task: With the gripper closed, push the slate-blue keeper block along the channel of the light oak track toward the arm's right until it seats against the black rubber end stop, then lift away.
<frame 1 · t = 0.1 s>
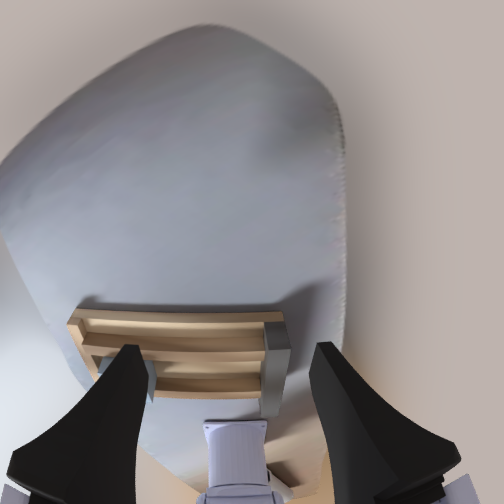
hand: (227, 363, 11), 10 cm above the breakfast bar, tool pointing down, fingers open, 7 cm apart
keeper: (127, 382, 21), point 4 cm above the breakfast bar, slide at 4.2 cm
tube: (272, 478, 47), on the breakfast bar
track: (178, 353, 24), on the breakfast bar
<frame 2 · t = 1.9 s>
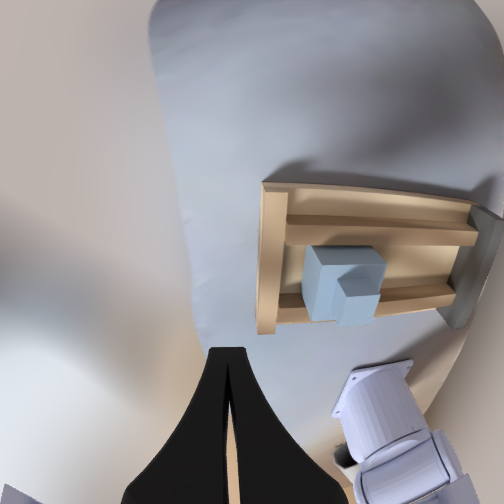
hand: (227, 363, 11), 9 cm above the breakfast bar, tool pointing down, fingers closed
keeper: (344, 285, 16), point 4 cm above the breakfast bar, slide at 4.2 cm
tube: (353, 457, 42), on the breakfast bar
track: (378, 255, 20), on the breakfast bar
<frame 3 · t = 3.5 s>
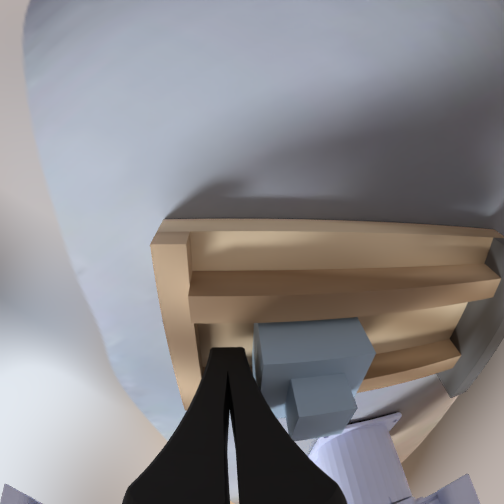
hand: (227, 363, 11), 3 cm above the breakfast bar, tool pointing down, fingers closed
keeper: (308, 375, 10), point 4 cm above the breakfast bar, slide at 3.4 cm, touching gripper
track: (355, 312, 14), on the breakfast bar
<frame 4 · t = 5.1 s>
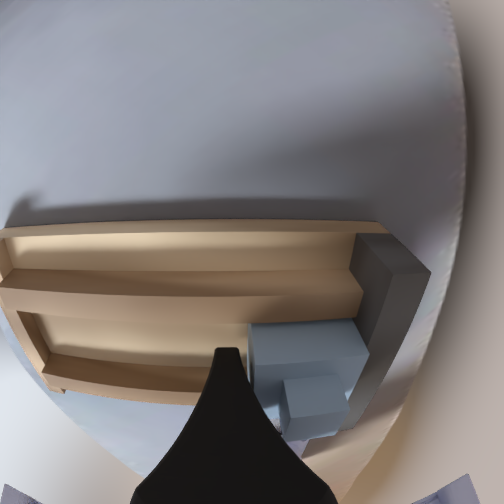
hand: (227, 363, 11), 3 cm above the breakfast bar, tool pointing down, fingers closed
keeper: (302, 376, 10), point 4 cm above the breakfast bar, slide at -5.4 cm, touching gripper, track
track: (174, 318, 13), on the breakfast bar
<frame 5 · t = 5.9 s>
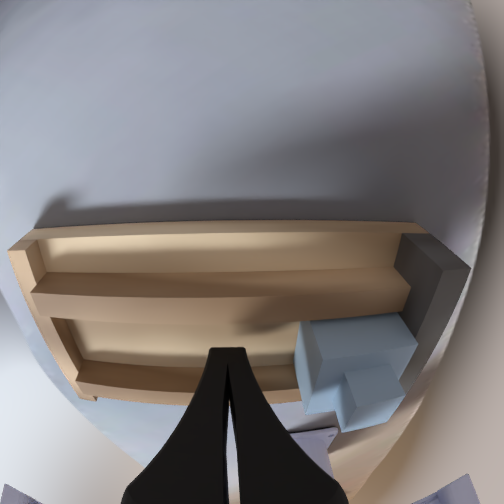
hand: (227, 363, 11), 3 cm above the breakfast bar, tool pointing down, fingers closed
keeper: (354, 369, 11), point 4 cm above the breakfast bar, slide at -5.4 cm, touching track
track: (222, 319, 13), on the breakfast bar
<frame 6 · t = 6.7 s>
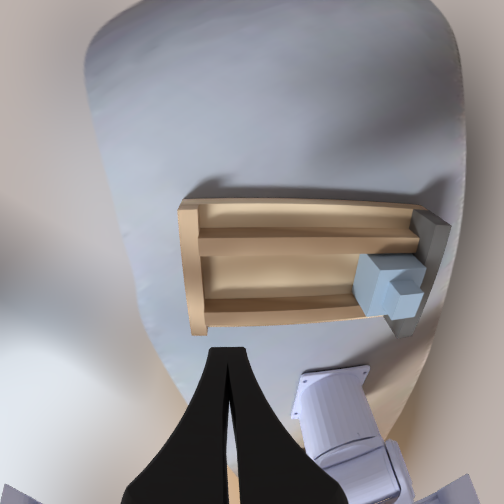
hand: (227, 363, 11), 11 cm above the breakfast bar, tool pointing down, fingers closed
keeper: (392, 286, 19), point 4 cm above the breakfast bar, slide at -5.4 cm, touching track
track: (309, 262, 21), on the breakfast bar
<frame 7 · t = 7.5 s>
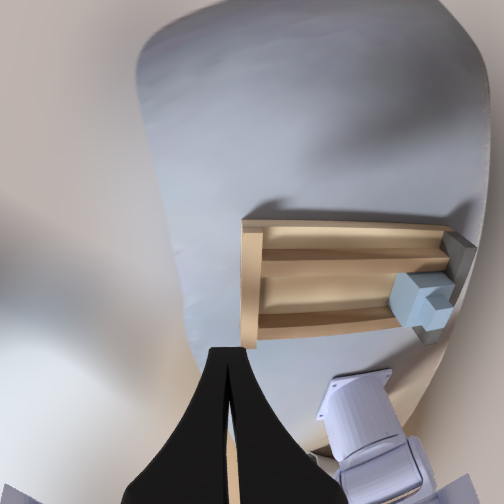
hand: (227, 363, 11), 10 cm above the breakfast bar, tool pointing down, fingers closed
keeper: (425, 300, 20), point 4 cm above the breakfast bar, slide at -5.4 cm, touching track
tube: (334, 460, 45), on the breakfast bar
track: (351, 279, 22), on the breakfast bar
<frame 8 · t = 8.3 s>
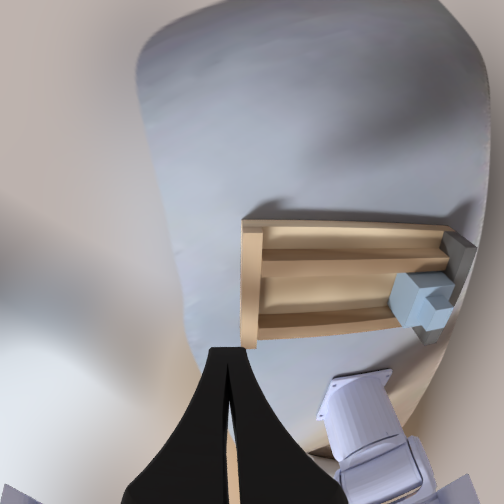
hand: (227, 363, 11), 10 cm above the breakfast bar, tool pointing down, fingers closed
keeper: (425, 300, 20), point 4 cm above the breakfast bar, slide at -5.4 cm, touching track
tube: (333, 460, 45), on the breakfast bar
track: (351, 279, 22), on the breakfast bar
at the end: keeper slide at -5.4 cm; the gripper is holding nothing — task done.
